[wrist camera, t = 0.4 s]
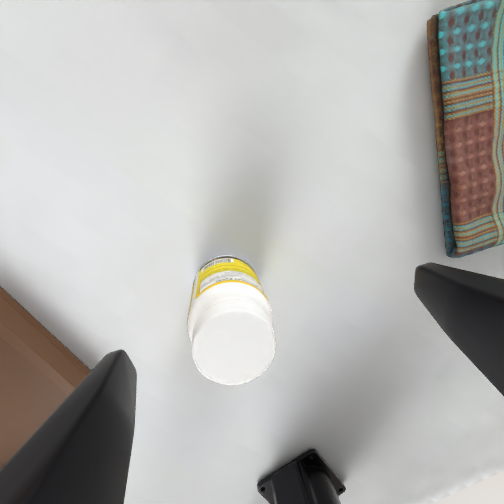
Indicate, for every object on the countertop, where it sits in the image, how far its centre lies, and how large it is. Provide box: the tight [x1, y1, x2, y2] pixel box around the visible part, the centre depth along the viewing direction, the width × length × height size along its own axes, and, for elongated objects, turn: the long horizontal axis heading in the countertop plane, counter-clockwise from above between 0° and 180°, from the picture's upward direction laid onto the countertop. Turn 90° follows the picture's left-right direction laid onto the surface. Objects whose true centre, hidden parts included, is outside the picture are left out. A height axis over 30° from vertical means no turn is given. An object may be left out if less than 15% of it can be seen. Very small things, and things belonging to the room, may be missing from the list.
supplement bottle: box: [187, 255, 276, 385], centre depth 17 cm, size 5×5×8 cm
